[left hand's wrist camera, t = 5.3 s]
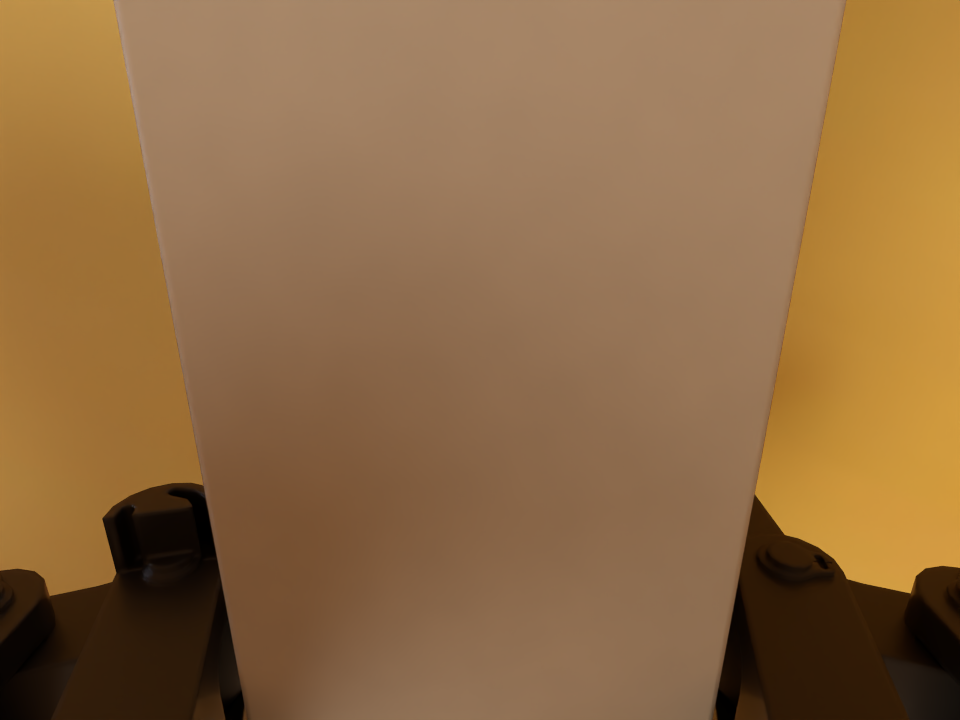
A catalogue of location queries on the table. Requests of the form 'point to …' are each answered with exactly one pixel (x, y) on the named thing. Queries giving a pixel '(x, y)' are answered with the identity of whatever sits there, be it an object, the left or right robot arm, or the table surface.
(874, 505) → the table surface
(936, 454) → the table surface
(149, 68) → the bar
